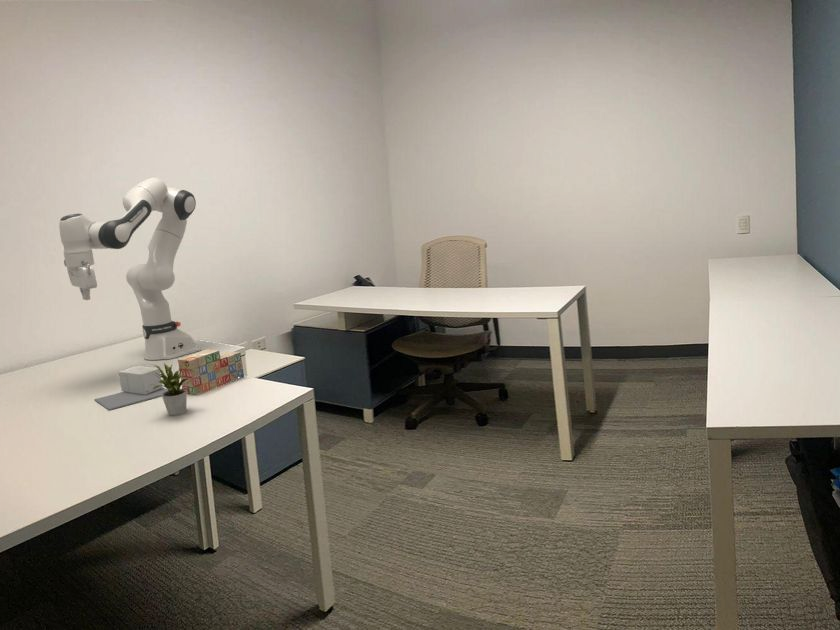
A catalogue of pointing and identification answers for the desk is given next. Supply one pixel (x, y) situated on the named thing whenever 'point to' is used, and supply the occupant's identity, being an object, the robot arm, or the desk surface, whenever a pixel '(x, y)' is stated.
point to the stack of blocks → (209, 370)
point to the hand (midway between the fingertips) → (86, 299)
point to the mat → (127, 399)
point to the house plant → (173, 390)
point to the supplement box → (140, 380)
